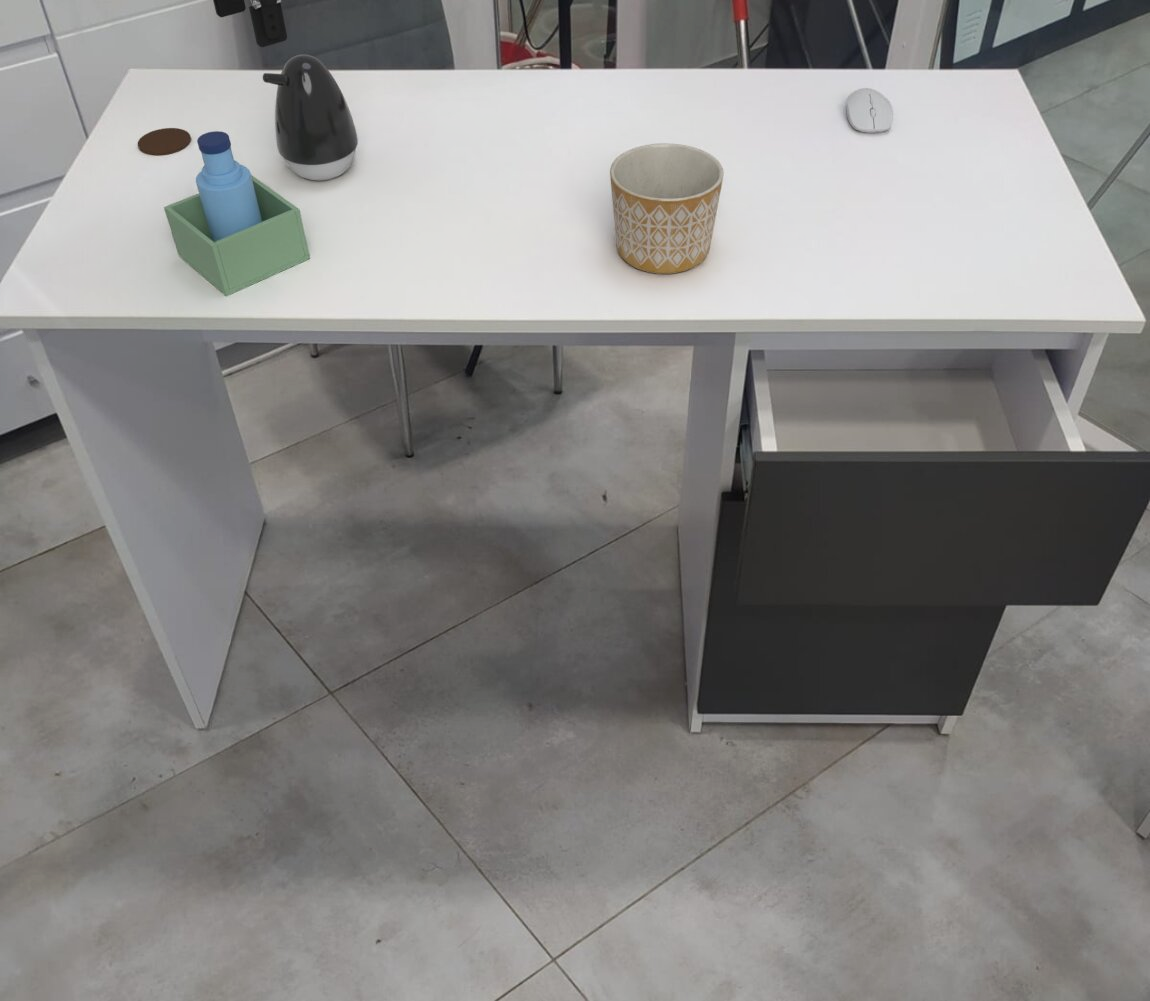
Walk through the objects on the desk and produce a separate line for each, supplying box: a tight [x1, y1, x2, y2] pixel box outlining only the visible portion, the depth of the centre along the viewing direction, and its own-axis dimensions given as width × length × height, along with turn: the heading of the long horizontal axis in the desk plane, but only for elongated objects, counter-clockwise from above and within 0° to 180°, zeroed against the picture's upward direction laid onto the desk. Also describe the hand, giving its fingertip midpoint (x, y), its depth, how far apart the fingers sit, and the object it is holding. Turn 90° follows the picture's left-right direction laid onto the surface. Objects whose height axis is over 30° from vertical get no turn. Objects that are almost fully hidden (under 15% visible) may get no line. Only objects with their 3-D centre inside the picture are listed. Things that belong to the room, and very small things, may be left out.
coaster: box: [137, 127, 192, 156], centre depth 152 cm, size 7×7×1 cm
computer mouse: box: [845, 87, 894, 134], centre depth 153 cm, size 6×10×3 cm, turn 179°
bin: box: [163, 174, 311, 297], centre depth 129 cm, size 11×11×7 cm
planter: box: [609, 142, 725, 275], centre depth 128 cm, size 13×13×10 cm
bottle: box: [195, 130, 262, 242], centre depth 126 cm, size 6×6×14 cm
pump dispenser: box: [262, 54, 359, 181], centre depth 140 cm, size 10×10×15 cm
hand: (251, 28), depth 118 cm, fingers open, 9 cm apart
